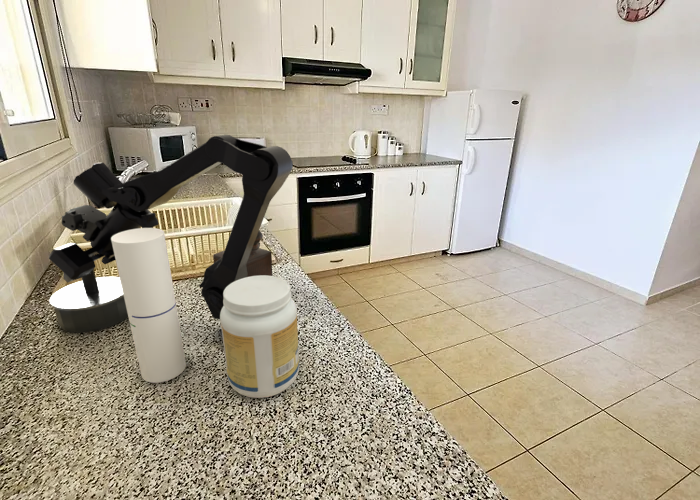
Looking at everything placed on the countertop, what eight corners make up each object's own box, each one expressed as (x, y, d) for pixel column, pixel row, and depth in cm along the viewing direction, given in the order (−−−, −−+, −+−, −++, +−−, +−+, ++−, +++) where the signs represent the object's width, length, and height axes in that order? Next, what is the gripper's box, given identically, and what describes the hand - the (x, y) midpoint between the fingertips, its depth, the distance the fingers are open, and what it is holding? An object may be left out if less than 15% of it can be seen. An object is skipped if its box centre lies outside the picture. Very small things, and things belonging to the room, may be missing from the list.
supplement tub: (291, 348, 72) (287, 268, 66) (307, 390, 62) (305, 300, 55) (225, 361, 68) (215, 278, 62) (230, 409, 57) (219, 314, 51)
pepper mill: (213, 289, 94) (204, 221, 87) (245, 274, 103) (240, 211, 96) (258, 307, 87) (252, 233, 80) (289, 288, 95) (286, 221, 89)
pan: (147, 303, 87) (143, 283, 85) (99, 336, 74) (93, 313, 72) (97, 297, 89) (92, 276, 87) (43, 327, 77) (35, 304, 75)
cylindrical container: (169, 385, 62) (142, 245, 53) (131, 379, 63) (99, 240, 54) (194, 359, 68) (174, 230, 59) (159, 353, 70) (134, 226, 61)
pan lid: (147, 284, 85) (140, 249, 82) (94, 317, 72) (83, 277, 69) (92, 277, 88) (84, 243, 85) (32, 308, 75) (19, 269, 71)
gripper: (126, 184, 79) (93, 229, 85) (42, 206, 62) (9, 259, 68) (164, 223, 81) (129, 264, 87) (93, 254, 64) (56, 302, 70)
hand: (85, 271), depth 78 cm, fingers open, 9 cm apart
